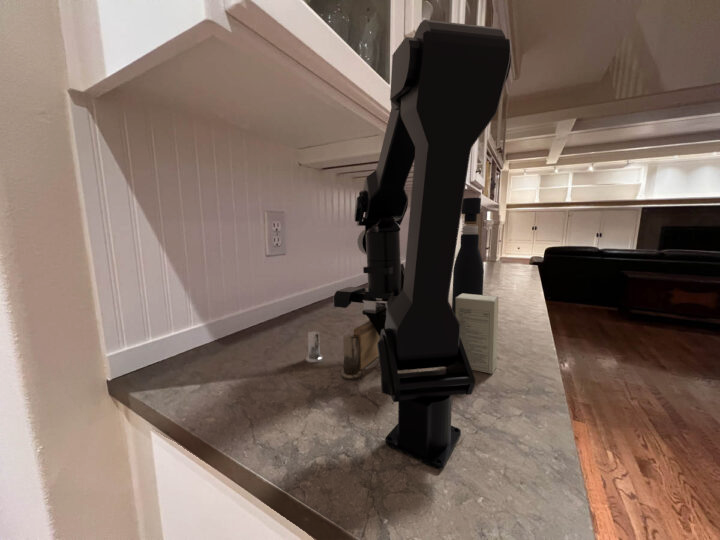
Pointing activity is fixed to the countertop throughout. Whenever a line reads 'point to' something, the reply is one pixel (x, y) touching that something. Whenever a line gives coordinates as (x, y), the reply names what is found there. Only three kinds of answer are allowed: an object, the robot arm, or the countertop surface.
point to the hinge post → (350, 357)
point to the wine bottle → (468, 255)
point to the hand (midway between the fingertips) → (387, 347)
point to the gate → (366, 344)
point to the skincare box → (478, 329)
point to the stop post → (314, 348)
